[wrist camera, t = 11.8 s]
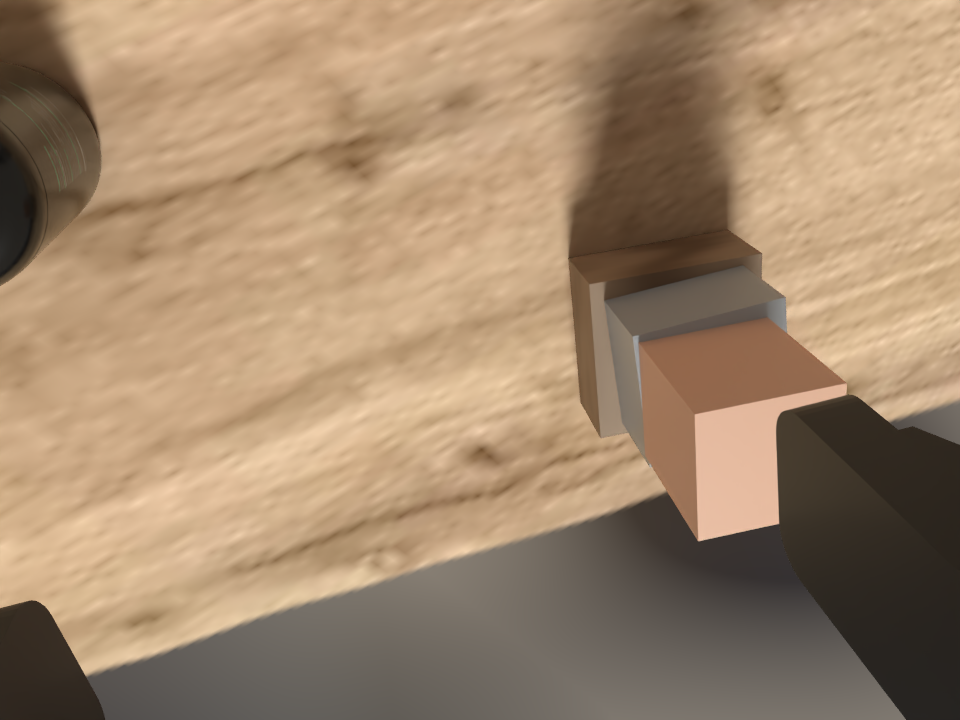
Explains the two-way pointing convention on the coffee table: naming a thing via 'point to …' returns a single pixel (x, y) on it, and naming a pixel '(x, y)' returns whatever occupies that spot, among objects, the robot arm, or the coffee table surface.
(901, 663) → the robot arm
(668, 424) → the terracotta block
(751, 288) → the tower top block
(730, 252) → the tower base block
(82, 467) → the coffee table surface
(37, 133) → the supplement bottle
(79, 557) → the coffee table surface
